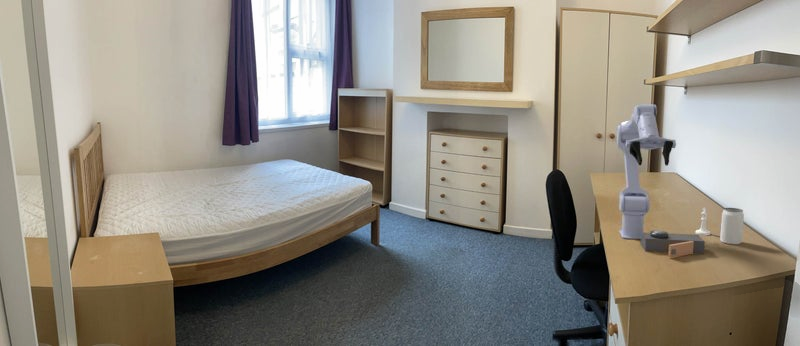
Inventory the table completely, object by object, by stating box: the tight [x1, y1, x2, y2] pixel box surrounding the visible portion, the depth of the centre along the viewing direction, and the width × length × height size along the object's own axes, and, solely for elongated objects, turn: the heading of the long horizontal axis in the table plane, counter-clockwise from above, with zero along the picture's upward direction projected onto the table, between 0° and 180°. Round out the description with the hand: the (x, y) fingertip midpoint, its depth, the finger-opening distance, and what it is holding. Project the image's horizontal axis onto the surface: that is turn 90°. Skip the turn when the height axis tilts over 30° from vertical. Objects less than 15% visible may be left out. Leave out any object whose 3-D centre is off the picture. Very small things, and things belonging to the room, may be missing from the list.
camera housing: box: [640, 230, 706, 255], centre depth 172 cm, size 8×18×6 cm, turn 75°
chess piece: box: [695, 207, 711, 236], centre depth 188 cm, size 5×5×10 cm
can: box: [719, 207, 745, 246], centre depth 177 cm, size 6×6×12 cm
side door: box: [667, 241, 694, 259], centre depth 165 cm, size 1×10×4 cm, turn 110°
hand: (653, 163), depth 156 cm, fingers open, 7 cm apart
